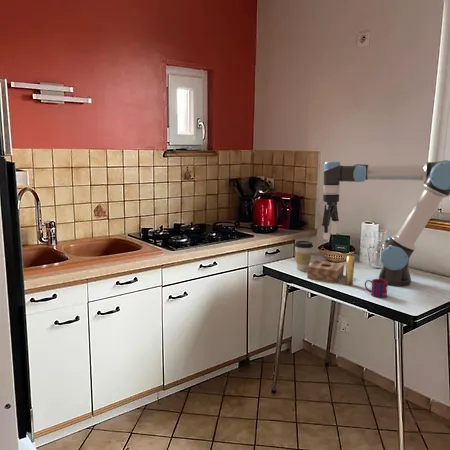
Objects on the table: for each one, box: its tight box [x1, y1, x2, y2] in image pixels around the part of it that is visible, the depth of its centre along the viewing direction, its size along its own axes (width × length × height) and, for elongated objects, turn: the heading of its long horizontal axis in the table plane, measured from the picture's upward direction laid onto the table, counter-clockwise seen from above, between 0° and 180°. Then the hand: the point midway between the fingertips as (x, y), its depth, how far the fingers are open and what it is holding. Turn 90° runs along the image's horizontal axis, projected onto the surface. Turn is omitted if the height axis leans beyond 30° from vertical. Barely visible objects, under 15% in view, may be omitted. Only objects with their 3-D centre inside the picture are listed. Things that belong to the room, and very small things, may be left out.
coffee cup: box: [294, 240, 314, 272], centre depth 246 cm, size 10×10×15 cm
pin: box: [344, 255, 355, 287], centre depth 221 cm, size 4×4×14 cm
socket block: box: [306, 259, 345, 283], centre depth 234 cm, size 15×14×6 cm
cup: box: [364, 278, 389, 299], centre depth 208 cm, size 7×10×7 cm
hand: (330, 236), depth 224 cm, fingers open, 13 cm apart
